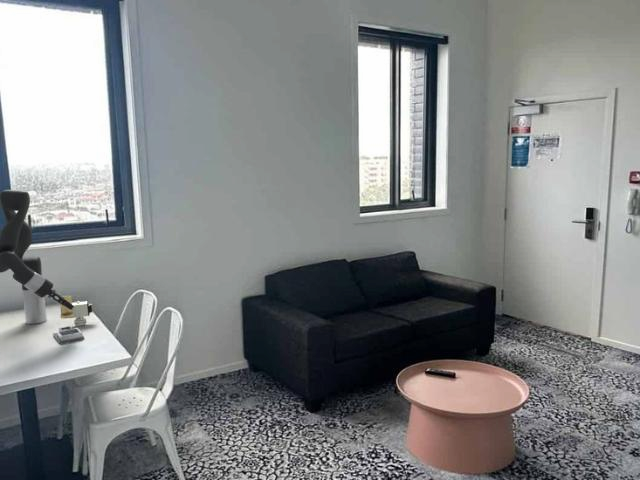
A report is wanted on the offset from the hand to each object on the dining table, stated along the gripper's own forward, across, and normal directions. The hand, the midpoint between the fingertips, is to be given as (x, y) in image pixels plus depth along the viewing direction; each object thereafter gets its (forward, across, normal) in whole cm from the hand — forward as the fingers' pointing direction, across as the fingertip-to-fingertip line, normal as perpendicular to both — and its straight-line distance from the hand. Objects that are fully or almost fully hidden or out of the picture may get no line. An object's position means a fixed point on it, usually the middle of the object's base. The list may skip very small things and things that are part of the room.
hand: (71, 306), depth 234 cm
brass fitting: (+2, 0, +4) cm, 5 cm away
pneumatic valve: (+16, +20, +5) cm, 26 cm away
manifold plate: (+9, +3, +12) cm, 15 cm away
